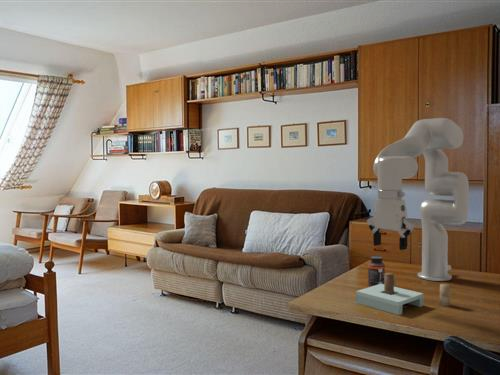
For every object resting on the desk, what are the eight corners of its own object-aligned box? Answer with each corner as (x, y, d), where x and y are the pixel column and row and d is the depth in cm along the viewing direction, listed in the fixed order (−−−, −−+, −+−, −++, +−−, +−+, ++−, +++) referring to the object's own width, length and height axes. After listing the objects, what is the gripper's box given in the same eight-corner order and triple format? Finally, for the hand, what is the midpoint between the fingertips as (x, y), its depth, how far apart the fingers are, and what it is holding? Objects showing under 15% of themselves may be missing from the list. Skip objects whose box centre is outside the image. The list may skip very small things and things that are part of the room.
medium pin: (442, 302, 148) (442, 283, 147) (451, 304, 145) (451, 285, 145) (437, 304, 146) (438, 285, 146) (446, 306, 144) (446, 286, 143)
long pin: (387, 302, 149) (387, 272, 149) (395, 304, 147) (395, 274, 146) (382, 304, 147) (382, 274, 147) (390, 306, 145) (390, 275, 144)
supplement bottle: (385, 289, 164) (385, 259, 163) (368, 289, 165) (368, 258, 164) (383, 285, 170) (384, 255, 169) (367, 284, 171) (367, 255, 170)
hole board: (381, 294, 158) (381, 283, 157) (423, 305, 145) (423, 293, 145) (356, 302, 149) (356, 291, 149) (398, 315, 136) (398, 302, 136)
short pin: (388, 289, 163) (389, 276, 163) (396, 291, 162) (397, 277, 161) (385, 291, 161) (386, 277, 161) (393, 293, 159) (394, 279, 159)
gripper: (420, 195, 141) (420, 249, 142) (374, 193, 154) (374, 242, 155) (407, 197, 136) (407, 253, 137) (360, 194, 149) (361, 245, 151)
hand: (389, 247), depth 146 cm, fingers open, 9 cm apart
